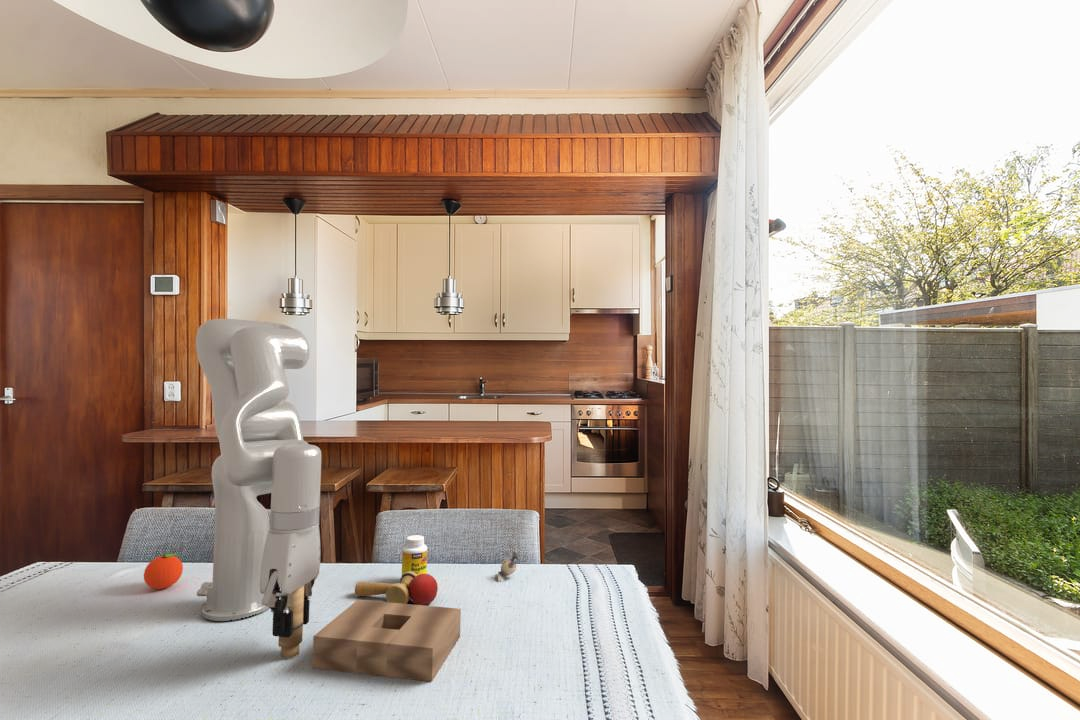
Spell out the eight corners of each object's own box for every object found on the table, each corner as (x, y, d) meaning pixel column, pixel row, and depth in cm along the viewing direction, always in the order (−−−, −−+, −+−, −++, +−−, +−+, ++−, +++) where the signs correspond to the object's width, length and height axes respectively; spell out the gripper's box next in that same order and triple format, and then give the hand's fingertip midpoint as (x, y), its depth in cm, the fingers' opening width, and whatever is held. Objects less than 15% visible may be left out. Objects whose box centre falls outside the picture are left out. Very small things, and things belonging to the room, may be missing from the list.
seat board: (312, 668, 82) (313, 636, 82) (356, 626, 95) (357, 599, 96) (431, 681, 78) (432, 648, 79) (460, 637, 92) (460, 608, 93)
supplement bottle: (409, 589, 113) (410, 542, 113) (396, 582, 117) (398, 537, 117) (431, 583, 117) (432, 537, 117) (418, 576, 121) (419, 532, 121)
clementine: (172, 578, 117) (174, 546, 117) (194, 582, 115) (195, 550, 115) (134, 591, 109) (136, 557, 110) (157, 596, 107) (159, 562, 107)
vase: (520, 573, 124) (521, 549, 124) (521, 584, 118) (522, 558, 118) (498, 573, 123) (498, 548, 123) (497, 584, 118) (498, 558, 118)
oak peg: (272, 659, 84) (275, 584, 84) (287, 647, 88) (289, 576, 88) (293, 661, 83) (296, 586, 84) (307, 649, 87) (309, 578, 88)
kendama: (346, 611, 105) (428, 608, 101) (347, 578, 106) (427, 574, 103) (367, 603, 112) (444, 600, 108) (367, 572, 114) (443, 568, 110)
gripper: (304, 505, 95) (301, 606, 94) (239, 531, 79) (233, 653, 78) (342, 508, 94) (338, 609, 93) (283, 534, 78) (278, 658, 77)
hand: (291, 628), depth 86 cm, fingers closed on oak peg, 3 cm apart
